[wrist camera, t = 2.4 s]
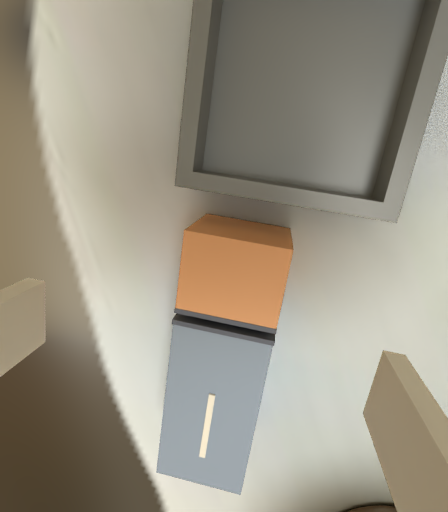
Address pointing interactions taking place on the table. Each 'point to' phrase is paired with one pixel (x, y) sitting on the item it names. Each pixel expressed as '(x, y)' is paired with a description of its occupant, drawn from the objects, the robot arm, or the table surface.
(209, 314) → the stub
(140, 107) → the table surface
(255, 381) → the block
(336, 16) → the tray
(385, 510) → the plant pot
